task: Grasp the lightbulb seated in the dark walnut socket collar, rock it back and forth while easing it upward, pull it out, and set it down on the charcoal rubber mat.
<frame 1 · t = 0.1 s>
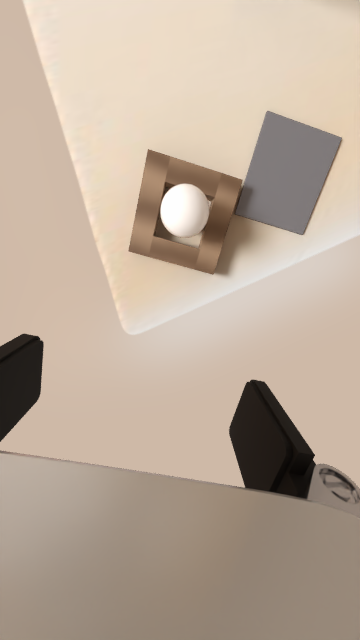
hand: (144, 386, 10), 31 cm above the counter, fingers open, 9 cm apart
mat: (285, 178, 35), on the counter
socket collar: (182, 219, 37), on the counter
lightbulb: (182, 219, 37), resting in socket collar
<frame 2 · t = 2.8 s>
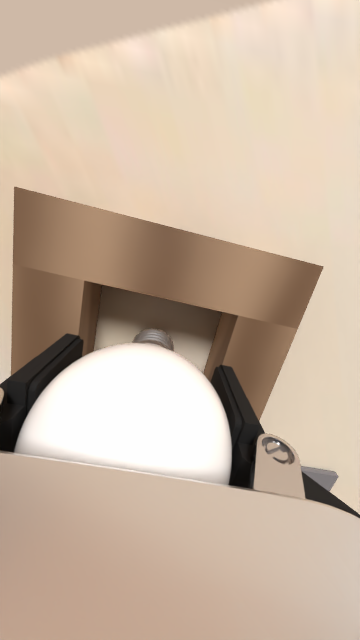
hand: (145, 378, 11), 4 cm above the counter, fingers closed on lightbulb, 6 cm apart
mat: (233, 509, 20), on the counter
socket collar: (153, 344, 15), on the counter
lightbulb: (153, 342, 15), resting in socket collar, touching gripper
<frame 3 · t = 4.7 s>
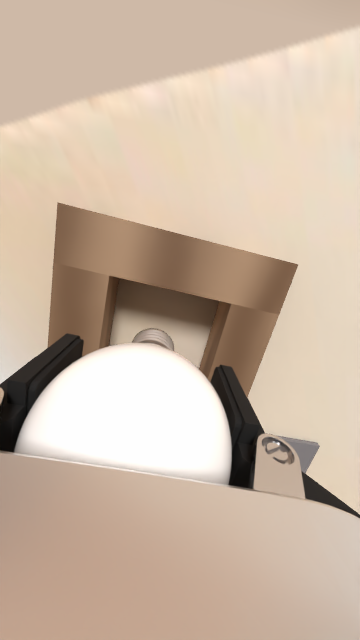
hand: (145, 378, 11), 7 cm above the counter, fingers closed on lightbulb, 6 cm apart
mat: (229, 477, 23), on the counter
socket collar: (161, 330, 18), on the counter
lightbulb: (153, 342, 15), point 3 cm above the counter, touching gripper
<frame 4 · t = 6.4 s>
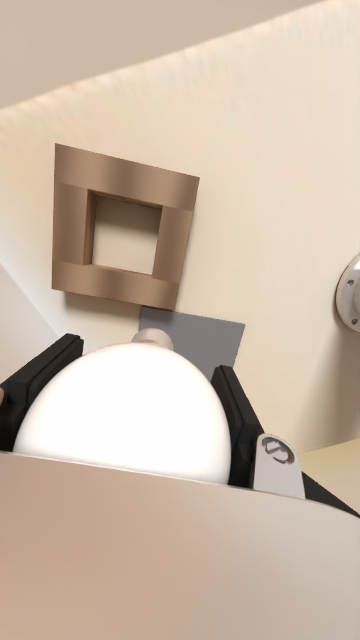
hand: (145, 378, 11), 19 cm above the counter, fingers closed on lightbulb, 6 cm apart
mat: (185, 355, 32), on the counter
socket collar: (126, 237, 27), on the counter
lightbulb: (153, 342, 15), point 15 cm above the counter, touching gripper
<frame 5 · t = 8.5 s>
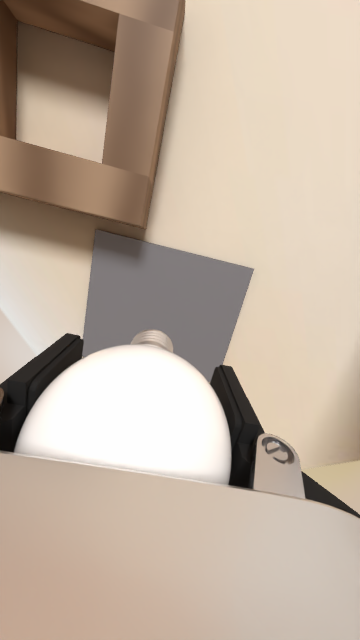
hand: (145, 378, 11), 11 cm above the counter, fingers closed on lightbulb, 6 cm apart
mat: (162, 313, 21), on the counter
socket collar: (69, 105, 16), on the counter
lightbulb: (153, 343, 15), point 7 cm above the counter, touching gripper
when the fingers open (6 cm above the counter, at t = 10.1 s): lightbulb stays where it is, resting on mat.
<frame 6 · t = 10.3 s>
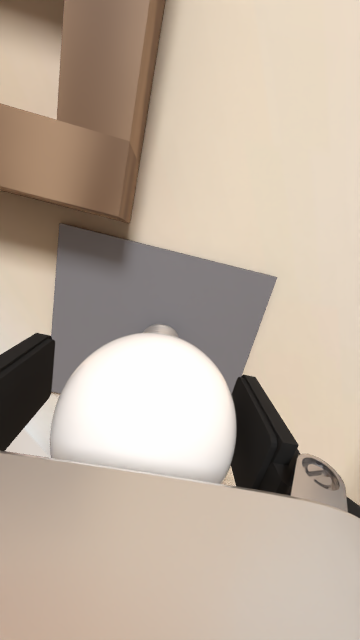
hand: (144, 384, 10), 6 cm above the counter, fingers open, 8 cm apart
mat: (154, 335, 16), on the counter
socket collar: (14, 40, 11), on the counter
lightbulb: (160, 337, 16), resting on mat
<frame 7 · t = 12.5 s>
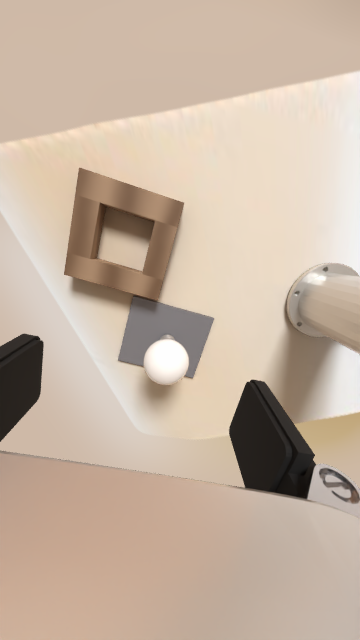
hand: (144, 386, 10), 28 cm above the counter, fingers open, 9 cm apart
mat: (165, 338, 39), on the counter
socket collar: (126, 240, 34), on the counter
lightbulb: (167, 339, 39), resting on mat
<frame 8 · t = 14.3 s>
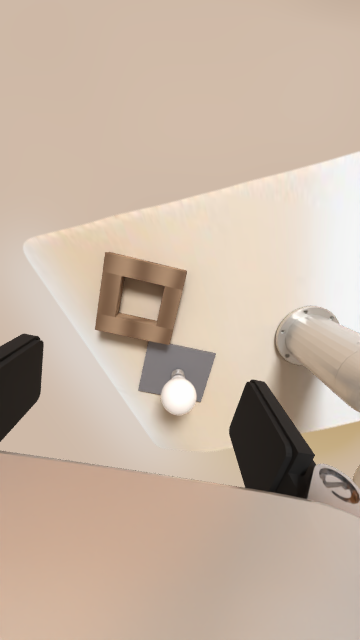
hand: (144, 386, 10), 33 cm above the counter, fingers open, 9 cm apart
mat: (176, 371, 48), on the counter
socket collar: (141, 298, 43), on the counter
lightbulb: (178, 372, 47), resting on mat
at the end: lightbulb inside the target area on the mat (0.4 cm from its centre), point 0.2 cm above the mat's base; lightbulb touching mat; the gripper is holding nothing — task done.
